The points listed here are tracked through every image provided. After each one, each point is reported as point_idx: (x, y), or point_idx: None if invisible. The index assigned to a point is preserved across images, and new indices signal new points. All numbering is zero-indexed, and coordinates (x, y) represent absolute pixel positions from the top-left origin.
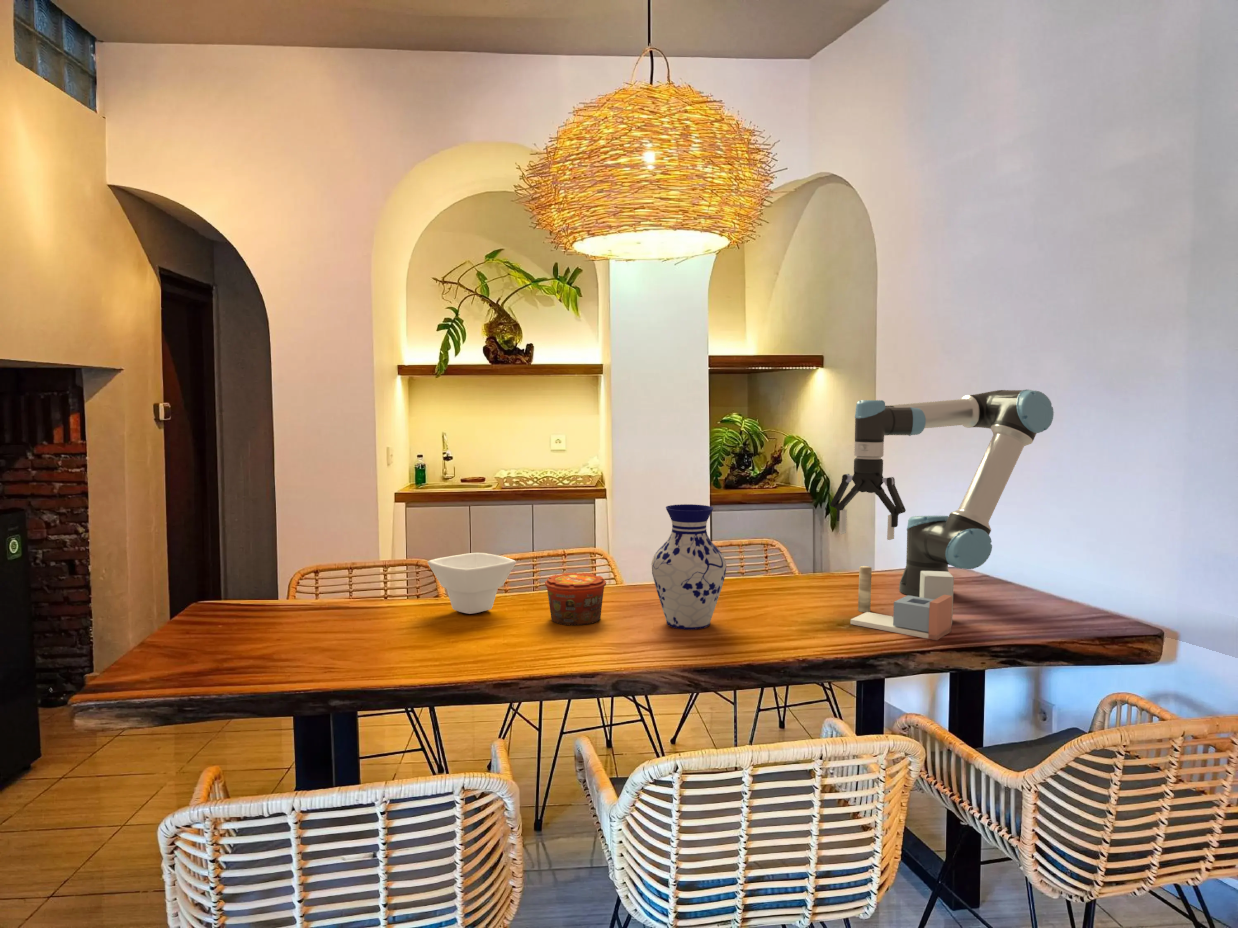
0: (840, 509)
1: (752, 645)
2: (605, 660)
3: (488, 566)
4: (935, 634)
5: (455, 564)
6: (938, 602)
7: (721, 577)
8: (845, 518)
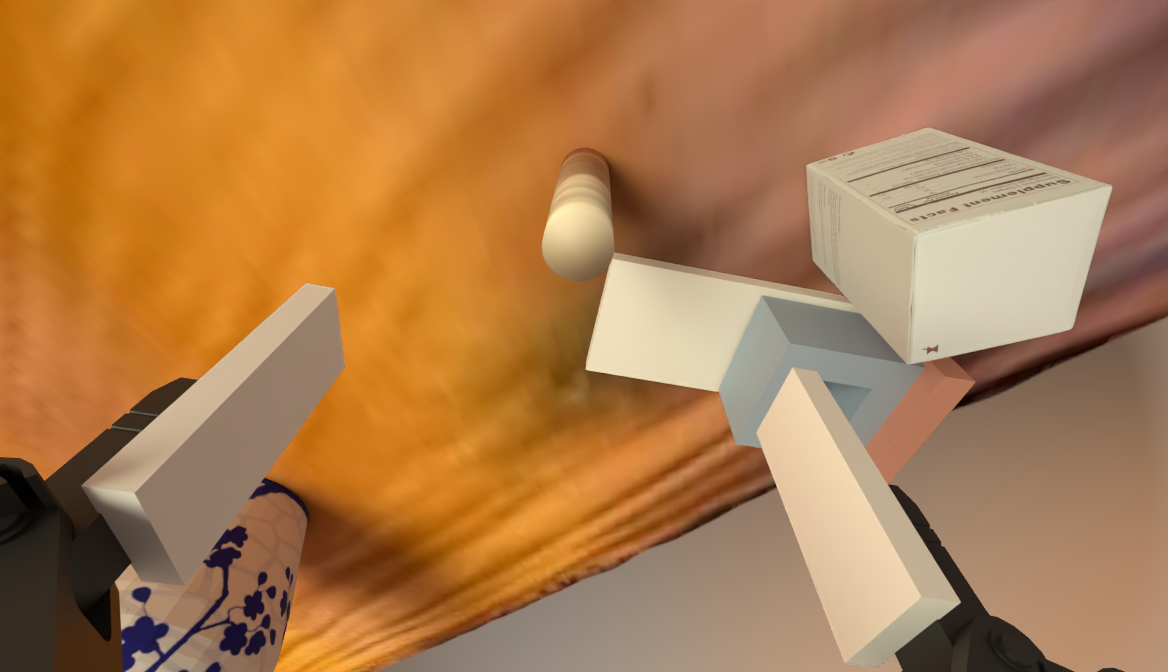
0: (114, 568)
1: (458, 558)
2: (328, 653)
3: None
4: None
5: None
6: (889, 477)
7: (273, 643)
8: (244, 414)
